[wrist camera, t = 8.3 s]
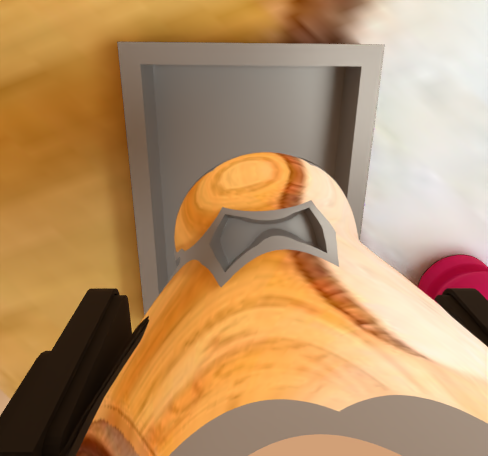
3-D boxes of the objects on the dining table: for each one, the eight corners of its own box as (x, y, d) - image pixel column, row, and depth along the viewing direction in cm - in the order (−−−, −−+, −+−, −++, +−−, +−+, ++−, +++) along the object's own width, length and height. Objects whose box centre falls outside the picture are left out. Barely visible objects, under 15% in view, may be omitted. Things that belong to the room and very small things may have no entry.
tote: (331, 317, 38) (344, 354, 33) (158, 317, 38) (148, 355, 33) (361, 44, 29) (384, 44, 25) (136, 42, 29) (117, 41, 24)
